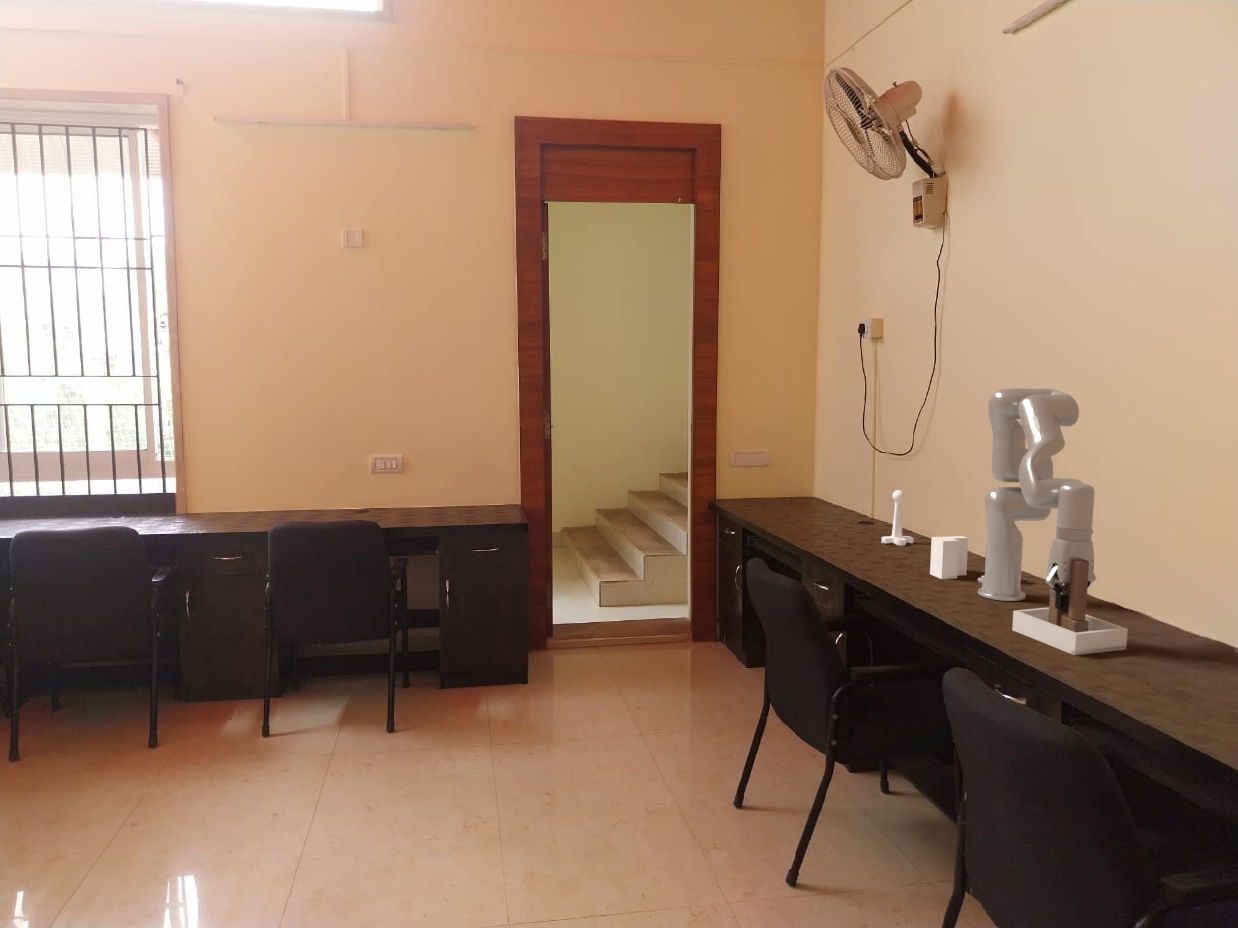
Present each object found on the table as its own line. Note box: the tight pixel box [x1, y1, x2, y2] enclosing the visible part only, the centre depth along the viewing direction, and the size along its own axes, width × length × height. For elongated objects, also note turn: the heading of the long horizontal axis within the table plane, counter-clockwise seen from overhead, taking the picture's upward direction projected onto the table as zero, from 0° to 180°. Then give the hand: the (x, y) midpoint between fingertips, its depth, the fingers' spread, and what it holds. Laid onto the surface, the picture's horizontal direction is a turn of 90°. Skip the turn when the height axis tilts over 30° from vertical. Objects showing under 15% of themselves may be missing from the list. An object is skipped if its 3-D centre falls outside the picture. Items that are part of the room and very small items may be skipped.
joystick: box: [881, 489, 914, 547], centre depth 325 cm, size 11×8×20 cm
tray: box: [1011, 606, 1129, 656], centre depth 213 cm, size 20×15×5 cm
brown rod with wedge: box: [1048, 559, 1089, 633], centre depth 212 cm, size 4×11×18 cm, turn 6°
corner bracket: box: [929, 535, 969, 580], centre depth 279 cm, size 11×11×12 cm
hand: (1069, 608), depth 213 cm, fingers closed on brown rod with wedge, 4 cm apart
